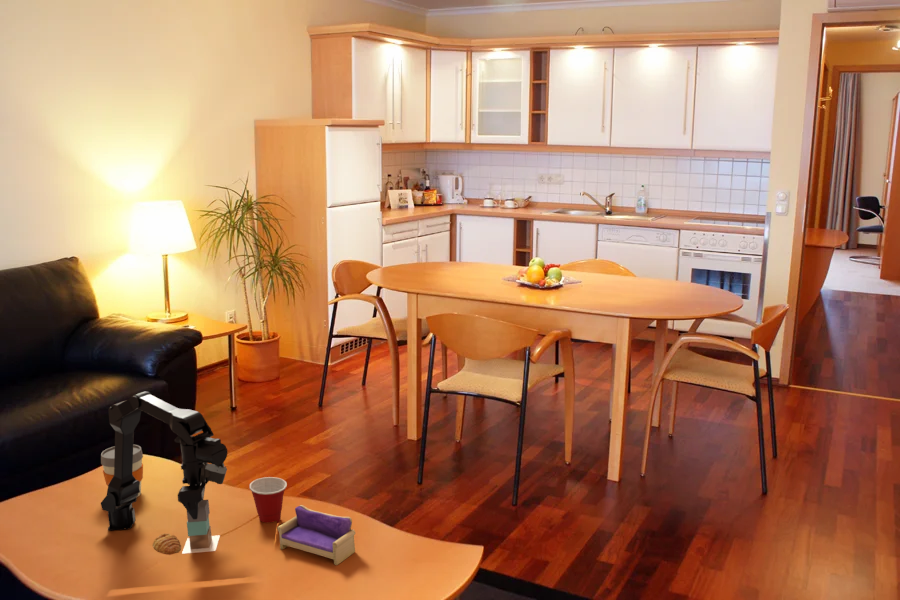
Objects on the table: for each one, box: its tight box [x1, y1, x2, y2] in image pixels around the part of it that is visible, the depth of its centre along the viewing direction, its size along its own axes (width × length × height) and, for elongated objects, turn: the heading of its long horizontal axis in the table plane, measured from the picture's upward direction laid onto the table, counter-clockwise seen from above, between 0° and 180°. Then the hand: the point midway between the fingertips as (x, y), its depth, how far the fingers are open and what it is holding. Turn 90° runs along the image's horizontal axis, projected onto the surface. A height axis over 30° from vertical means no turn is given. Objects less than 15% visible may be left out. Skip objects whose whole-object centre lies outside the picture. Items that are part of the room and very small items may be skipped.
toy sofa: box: [276, 504, 356, 566], centre depth 228 cm, size 21×9×10 cm, turn 59°
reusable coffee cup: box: [100, 443, 144, 498], centre depth 267 cm, size 13×13×15 cm
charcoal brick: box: [186, 499, 211, 522], centre depth 230 cm, size 5×5×4 cm
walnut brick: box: [188, 525, 213, 549], centre depth 231 cm, size 5×5×4 cm
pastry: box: [152, 533, 182, 555], centre depth 231 cm, size 9×7×4 cm
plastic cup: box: [249, 476, 288, 524], centre depth 246 cm, size 11×11×12 cm
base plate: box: [181, 534, 221, 555], centre depth 232 cm, size 9×9×1 cm
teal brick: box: [186, 515, 211, 537], centre depth 230 cm, size 5×5×4 cm
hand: (198, 511), depth 230 cm, fingers open, 9 cm apart
